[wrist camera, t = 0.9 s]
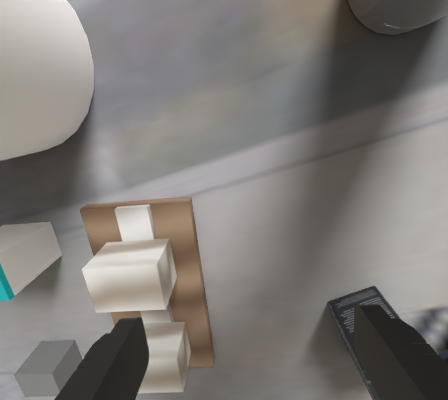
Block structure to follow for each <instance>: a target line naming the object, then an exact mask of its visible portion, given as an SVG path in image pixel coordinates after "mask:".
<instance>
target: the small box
mask: <svg viewBox="0 0 448 400" xmlns="http://www.w3.org/2000/svg"><path fill="white" fill-rule="evenodd" d="M363 304H379V305H380V306H381V307H382V308H383V309H384V310H385V311H386V313H387V314H388V315H389V316H390V317H391V318H399V319H400V320H401V318H400V317H399V316H398V314H397V313H396V312H395V311H394V309H393V308H392V307H391V306H390V304H389V303H388V302H387V301H386V299H385V298H384V297H383V295H382V294H381V293H380V292H379V290H378V289H377V288H376V287H375V286H373V287H369V288H366V289H364V290H361V291H358V292H355V293H352V294H349V295H346V296H344V297H341V298H338V299H335V300H332V301H329V302H328V306H329V308H330V310H331V312H332V315H333V317H334V319H335V321H336V324H337V326H338V328H339V330H340V332H341V335H342V337H343V339H344V342H345V344H346V346H347V349H348V350H349V352H350V354H351V356H352V358H353V360H354V362H355V364H356V366H357V368H358V370H359V372H360V374H361V376H362V378H363V380H364V382H365V384H366V386H367V389H368V391H369V393H370V395H371V397H372V399H373V400H380V398H379V396H378V395H377V393H376V391H375V389H374V387H373V385H372V384H371V382H370V380H369V378H368V376H367V374H366V372H365V371H364V369H363V367H362V365H361V363H360V361H359V359H358V357H357V354H356V351H355V346H354V307H355V305H363Z"/></svg>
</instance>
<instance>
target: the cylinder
mask: <svg viewBox="0 0 448 400" xmlns="http://www.w3.org/2000/svg"><path fill="white" fill-rule="evenodd" d="M93 92H94V64H93V60H92V55H91V51H90V47H89V42H88V38H87V36H86V34H85V32H84V30H83V27H82V25H81V23H80V21H79V19H78V17H77V14H76V12H75V10H74V9H73V8H72V6H71V5H70V4H69V2H68V1H67V0H0V161H2V160H6V159H11V158H15V157H19V156H23V155H28V154H32V153H36V152H40V151H44V150H47V149H49V148H52V147H54V146H57V145H59V144H62V143H63V142H64V141H66V140H67V139H68V138H69V137H70V136H71V135H73V134H74V133H75V132H76V131H77V130H78V128H79V127H80V125H81V123H82V122H83V120H84V119H85V117H86V115H87V114H88V111H89V107H90V103H91V99H92V96H93Z"/></svg>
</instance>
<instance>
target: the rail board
mask: <svg viewBox="0 0 448 400" xmlns="http://www.w3.org/2000/svg"><path fill="white" fill-rule="evenodd" d="M80 212H81V216H82V219H83V222H84V225H85V229H86V232H87V235H88V239H89V242H90V245H91V248H92V252H93V255H94V257H93V258H92V259H91V260H90V261H89V262H88V263H87V264H86V265H85V266H84V268H83V269H82V272H83V275H84V278H85V281H86V284H87V287H88V290H89V293H90V296H91V299H92V302H93V305H94V308H95V311H96V313H100V312H111V314H112V318H113V321H114V324H115V325H116V324H117V322H118V321H119V319H121V318H135V317H141V318H142V320H143V324H144V329H145V333H146V338H147V343H148V348H149V363H148V367H147V370H146V373H145V375H144V378H143V381H142V383H141V386H140V388H139V391H138V393H169V392H184V387H185V381H186V376H187V370H188V368H189V367H214V358H215V356H214V349H213V342H212V336H211V329H210V322H209V315H208V308H207V301H206V295H205V288H204V281H203V274H202V267H201V260H200V254H199V247H198V240H197V233H196V226H195V219H194V213H193V206H192V199H191V197H181V198H168V199H155V200H142V201H129V202H116V203H103V204H91V205H86V206H85V207H83V208H82V209H80Z"/></svg>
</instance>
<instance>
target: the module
mask: <svg viewBox="0 0 448 400" xmlns="http://www.w3.org/2000/svg"><path fill="white" fill-rule="evenodd" d="M60 256H62V253H61V250H60V247H59V244H58V241H57V238H56V235H55V233H54V230H53V227H52V224H51V222H39V223H25V224H12V225H2V226H0V301H6V300H11V299H12V298H13V297H14V296H15V295H16V294H18V293H19V292H20V291H21V290H22V289H23V288H25V287H26V286H27V285H28V284H29V283H30V282H31V281H33V280H34V279H35V278H36V277H37V276H38V275H40V274H41V273H42V272H43V271H44V270H45V269H47V268H48V267H49V266H50V265H51V264H52V263H53V262H55V261H56V260H57V259H58V258H59V257H60Z"/></svg>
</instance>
